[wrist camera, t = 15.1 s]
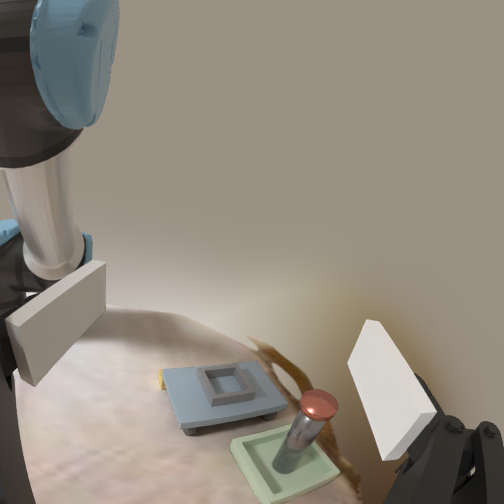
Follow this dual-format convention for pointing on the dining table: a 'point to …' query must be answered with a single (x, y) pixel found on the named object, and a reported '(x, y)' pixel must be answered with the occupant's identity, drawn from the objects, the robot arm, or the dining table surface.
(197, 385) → the cart
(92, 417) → the dining table surface
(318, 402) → the pin
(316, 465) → the tray
